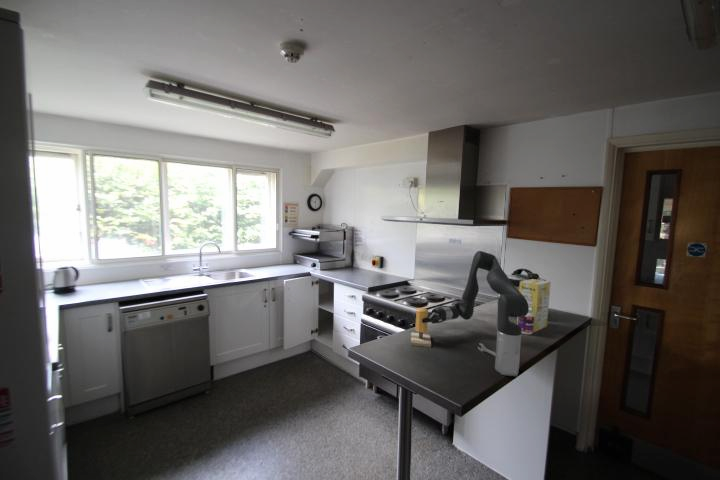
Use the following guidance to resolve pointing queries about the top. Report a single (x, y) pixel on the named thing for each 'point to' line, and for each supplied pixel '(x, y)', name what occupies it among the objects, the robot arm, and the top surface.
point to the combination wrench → (486, 350)
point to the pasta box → (537, 300)
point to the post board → (420, 339)
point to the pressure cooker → (522, 277)
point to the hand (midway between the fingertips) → (418, 318)
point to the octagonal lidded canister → (420, 315)
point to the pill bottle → (527, 322)
